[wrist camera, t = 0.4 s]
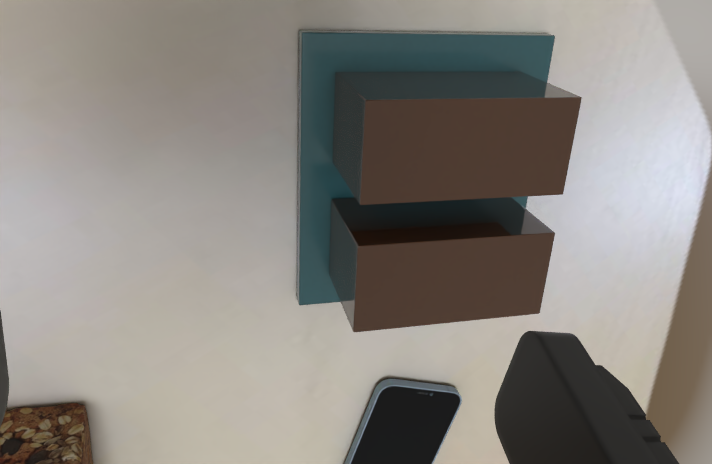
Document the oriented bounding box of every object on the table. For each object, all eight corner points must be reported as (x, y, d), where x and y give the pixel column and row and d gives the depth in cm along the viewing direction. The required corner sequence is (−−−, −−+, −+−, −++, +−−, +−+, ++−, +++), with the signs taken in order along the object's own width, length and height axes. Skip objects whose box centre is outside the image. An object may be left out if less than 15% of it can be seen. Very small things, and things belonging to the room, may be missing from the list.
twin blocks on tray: (296, 298, 45) (318, 367, 38) (298, 29, 37) (326, 54, 30) (506, 280, 48) (562, 340, 41) (547, 33, 41) (623, 55, 34)
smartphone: (322, 527, 54) (381, 383, 48) (320, 518, 54) (378, 375, 49) (402, 530, 56) (466, 393, 51) (399, 521, 57) (462, 386, 52)
